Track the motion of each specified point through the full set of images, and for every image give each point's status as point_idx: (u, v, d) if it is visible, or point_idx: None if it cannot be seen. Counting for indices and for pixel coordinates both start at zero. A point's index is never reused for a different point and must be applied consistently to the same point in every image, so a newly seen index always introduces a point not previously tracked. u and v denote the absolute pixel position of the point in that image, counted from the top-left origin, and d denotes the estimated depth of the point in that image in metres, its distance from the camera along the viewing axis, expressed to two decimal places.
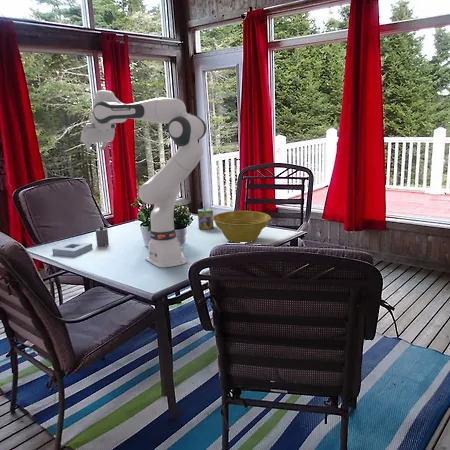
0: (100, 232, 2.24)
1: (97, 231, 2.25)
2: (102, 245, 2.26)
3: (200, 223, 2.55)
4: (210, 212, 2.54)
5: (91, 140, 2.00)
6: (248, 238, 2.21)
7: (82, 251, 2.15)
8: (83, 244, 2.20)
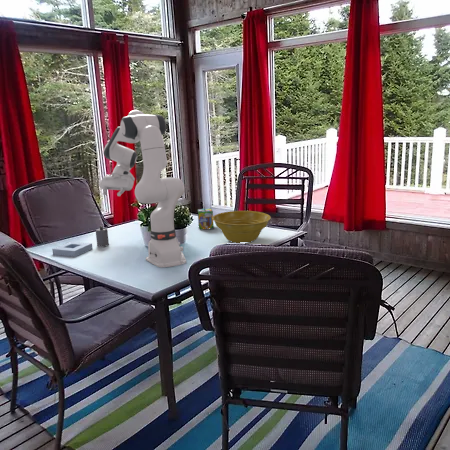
0: (100, 232, 2.24)
1: (97, 231, 2.25)
2: (102, 245, 2.26)
3: (200, 223, 2.55)
4: (210, 212, 2.54)
5: (103, 184, 2.36)
6: (248, 238, 2.21)
7: (82, 251, 2.15)
8: (83, 244, 2.20)
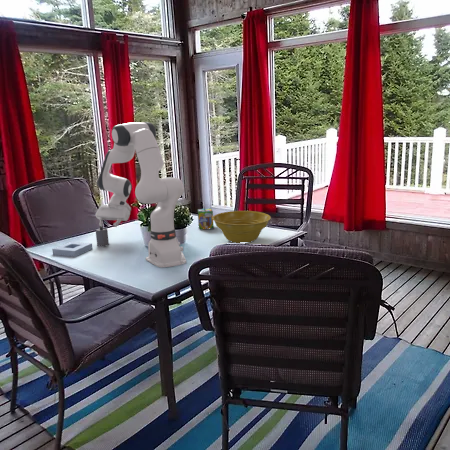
0: (100, 232, 2.24)
1: (97, 231, 2.25)
2: (102, 245, 2.26)
3: (200, 223, 2.55)
4: (210, 212, 2.54)
5: (100, 214, 2.35)
6: (248, 238, 2.21)
7: (82, 251, 2.15)
8: (83, 244, 2.20)
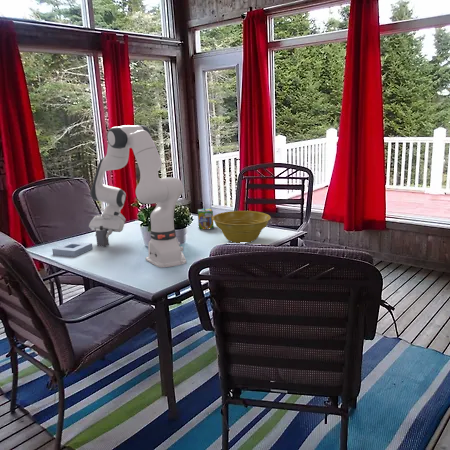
0: (100, 232, 2.24)
1: (97, 231, 2.25)
2: (102, 245, 2.26)
3: (200, 223, 2.55)
4: (210, 212, 2.54)
5: (94, 225, 2.30)
6: (248, 238, 2.21)
7: (82, 251, 2.15)
8: (83, 244, 2.20)
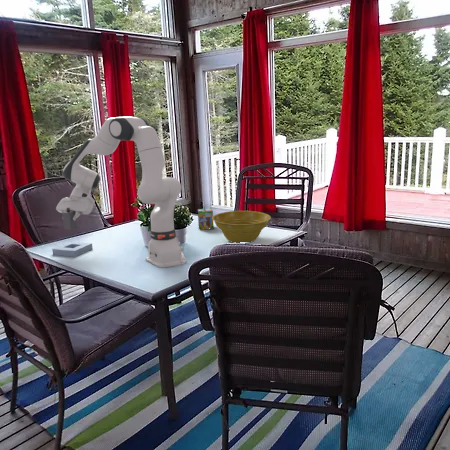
0: (67, 214, 2.11)
1: (64, 213, 2.12)
2: (69, 228, 2.13)
3: (200, 223, 2.55)
4: (210, 212, 2.54)
5: (61, 207, 2.17)
6: (248, 238, 2.21)
7: (82, 251, 2.15)
8: (83, 244, 2.20)
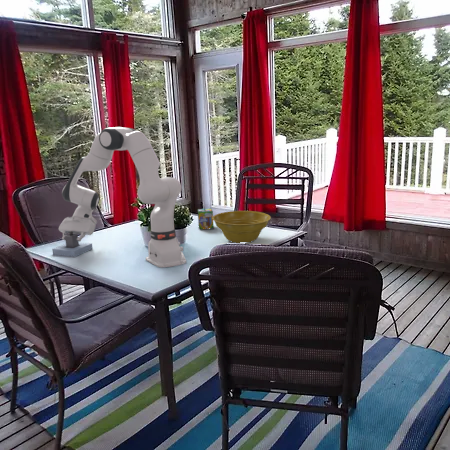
0: (70, 238, 2.14)
1: (66, 237, 2.15)
2: None
3: (200, 223, 2.55)
4: (210, 212, 2.54)
5: (63, 227, 2.20)
6: (248, 238, 2.21)
7: (82, 251, 2.15)
8: (83, 244, 2.20)
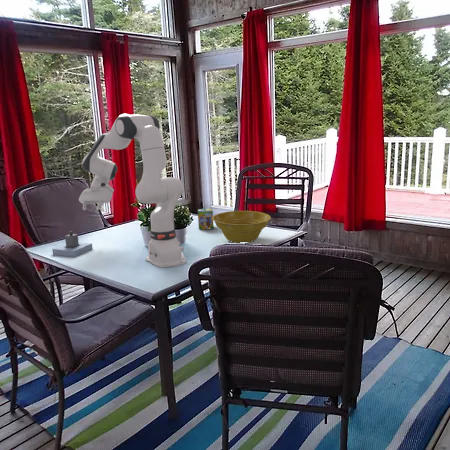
0: (70, 238, 2.14)
1: (66, 237, 2.15)
2: None
3: (200, 223, 2.55)
4: (210, 212, 2.54)
5: (83, 198, 2.28)
6: (248, 238, 2.21)
7: (82, 251, 2.15)
8: (83, 244, 2.20)
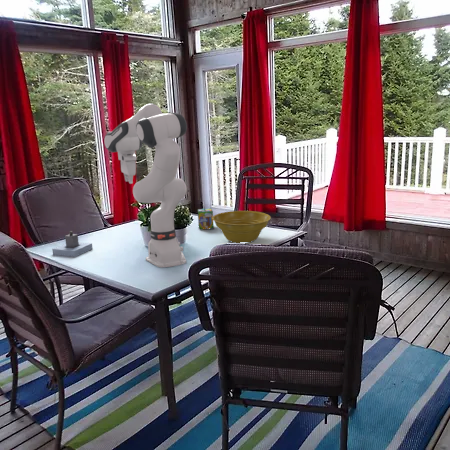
0: (70, 238, 2.14)
1: (66, 237, 2.15)
2: None
3: (200, 223, 2.55)
4: (210, 212, 2.54)
5: (122, 170, 2.26)
6: (248, 238, 2.21)
7: (82, 251, 2.15)
8: (83, 244, 2.20)
